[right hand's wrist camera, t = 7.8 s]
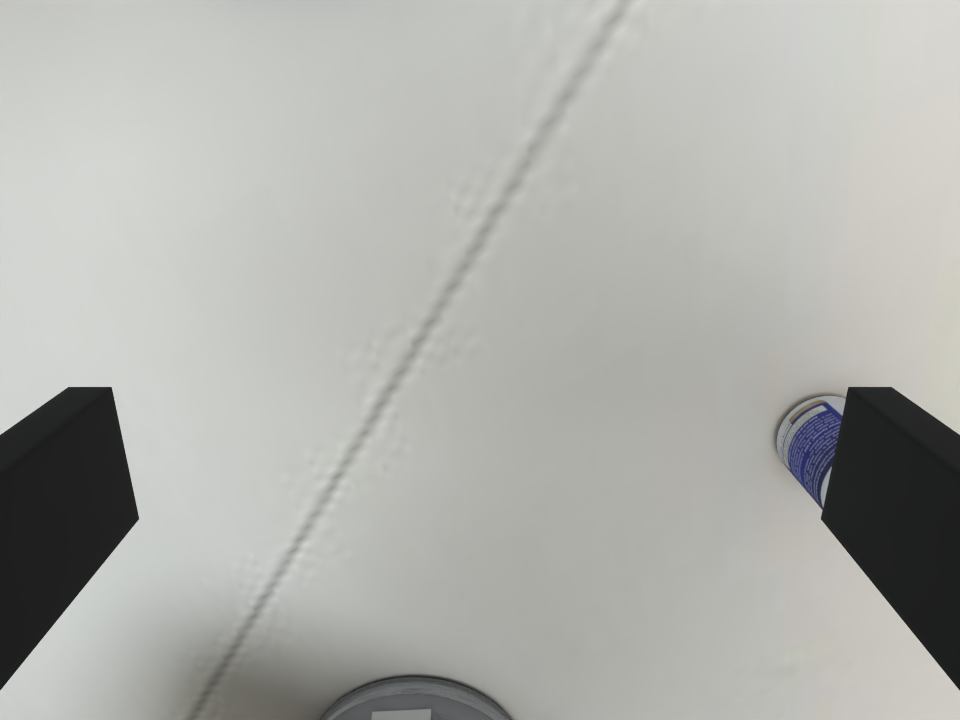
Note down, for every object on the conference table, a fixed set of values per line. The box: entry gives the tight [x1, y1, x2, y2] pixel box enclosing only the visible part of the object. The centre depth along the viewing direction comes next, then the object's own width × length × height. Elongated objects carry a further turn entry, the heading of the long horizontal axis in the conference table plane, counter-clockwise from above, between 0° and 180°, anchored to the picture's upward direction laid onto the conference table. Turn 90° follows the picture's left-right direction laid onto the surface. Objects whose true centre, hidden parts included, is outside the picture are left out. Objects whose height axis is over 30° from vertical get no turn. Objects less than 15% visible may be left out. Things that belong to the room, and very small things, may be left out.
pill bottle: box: [777, 396, 846, 510], centre depth 36 cm, size 5×5×9 cm
